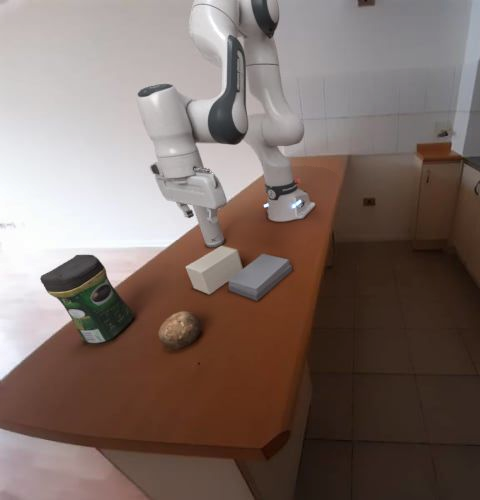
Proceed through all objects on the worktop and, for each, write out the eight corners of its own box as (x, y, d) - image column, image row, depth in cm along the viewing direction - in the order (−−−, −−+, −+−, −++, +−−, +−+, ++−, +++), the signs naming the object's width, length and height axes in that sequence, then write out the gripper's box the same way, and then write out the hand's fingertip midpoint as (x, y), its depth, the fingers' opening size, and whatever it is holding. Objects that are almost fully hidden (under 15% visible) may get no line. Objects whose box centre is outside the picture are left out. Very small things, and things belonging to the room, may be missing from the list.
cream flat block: (224, 252, 83) (221, 245, 82) (239, 256, 80) (237, 249, 79) (188, 274, 74) (185, 266, 73) (204, 280, 71) (201, 272, 70)
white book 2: (228, 265, 86) (226, 258, 85) (243, 270, 83) (241, 263, 82) (193, 288, 77) (191, 281, 75) (209, 294, 74) (206, 287, 72)
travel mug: (219, 248, 96) (201, 192, 86) (202, 247, 97) (183, 192, 87) (228, 239, 101) (213, 186, 91) (212, 238, 102) (195, 186, 92)
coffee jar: (112, 314, 69) (72, 250, 60) (140, 315, 68) (104, 250, 59) (77, 345, 61) (24, 276, 52) (109, 346, 60) (61, 277, 51)
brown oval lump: (174, 311, 64) (167, 303, 58) (209, 319, 65) (205, 313, 60) (156, 346, 60) (147, 342, 55) (194, 355, 61) (188, 351, 56)
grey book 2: (266, 262, 86) (265, 257, 85) (292, 270, 81) (291, 265, 80) (229, 290, 75) (227, 285, 74) (257, 301, 70) (255, 295, 69)
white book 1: (226, 258, 85) (224, 252, 83) (241, 263, 82) (239, 256, 80) (191, 281, 75) (188, 274, 74) (206, 287, 72) (204, 280, 71)
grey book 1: (263, 258, 84) (262, 253, 83) (290, 264, 80) (289, 259, 80) (229, 285, 73) (227, 280, 73) (257, 294, 70) (256, 288, 69)
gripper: (223, 164, 62) (239, 220, 69) (168, 160, 71) (187, 209, 79) (200, 172, 58) (219, 231, 65) (144, 166, 67) (166, 218, 74)
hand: (201, 219), depth 72 cm, fingers open, 8 cm apart
